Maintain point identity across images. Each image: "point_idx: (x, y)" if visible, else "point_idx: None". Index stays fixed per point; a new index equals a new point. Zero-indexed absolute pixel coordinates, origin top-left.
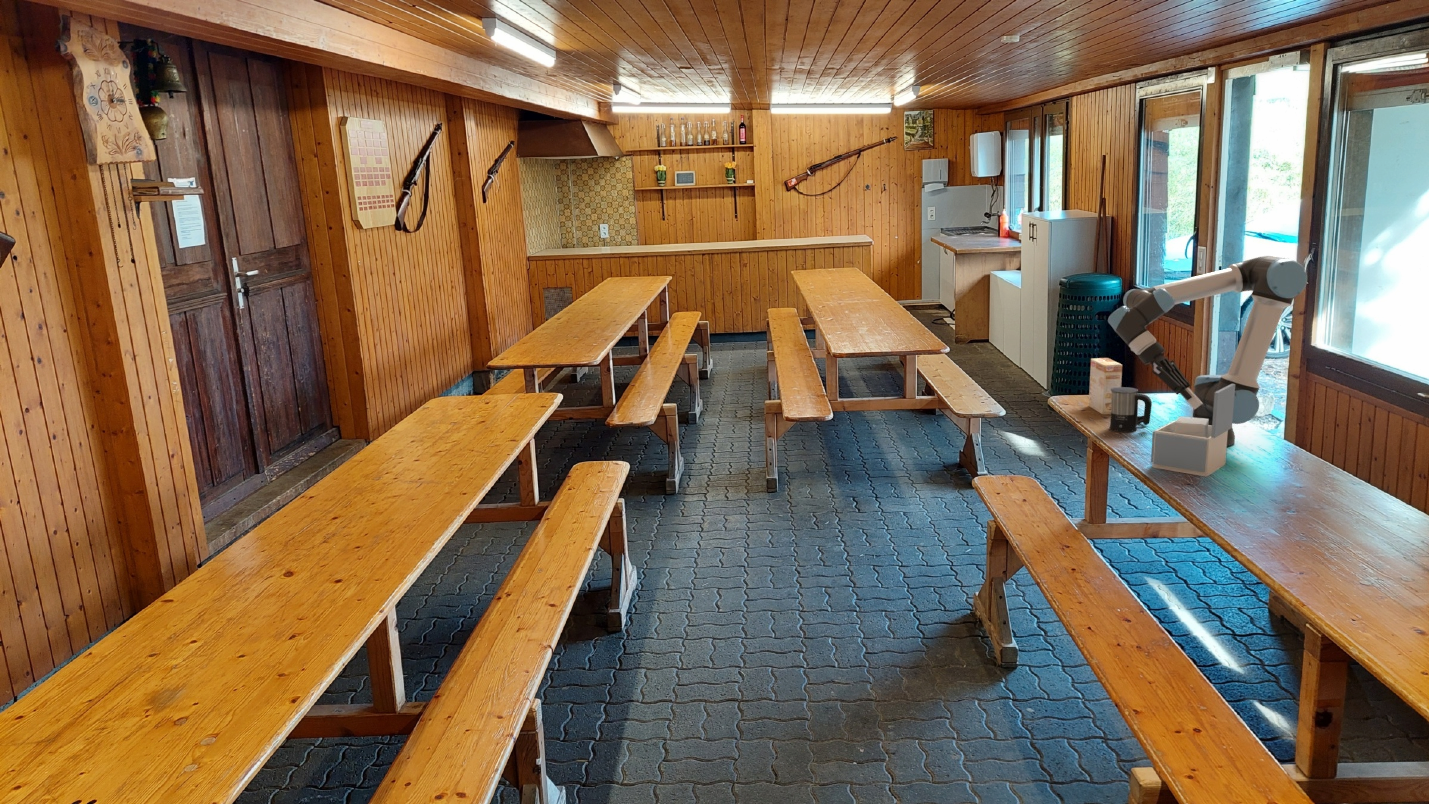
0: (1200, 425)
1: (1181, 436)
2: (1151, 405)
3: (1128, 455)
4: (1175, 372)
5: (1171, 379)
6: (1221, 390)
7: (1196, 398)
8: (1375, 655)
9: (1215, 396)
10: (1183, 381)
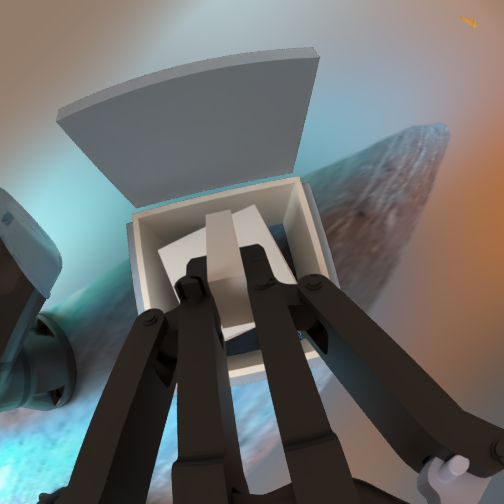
0: (262, 219)
1: (325, 257)
2: (42, 499)
3: (269, 435)
4: (202, 429)
5: (387, 337)
6: (250, 55)
7: (228, 227)
8: (472, 26)
9: (314, 68)
10: (199, 329)
